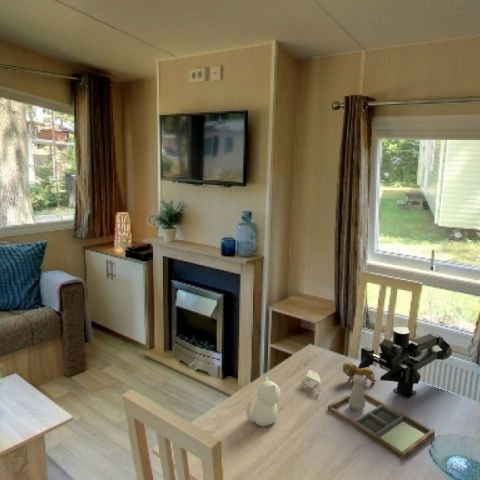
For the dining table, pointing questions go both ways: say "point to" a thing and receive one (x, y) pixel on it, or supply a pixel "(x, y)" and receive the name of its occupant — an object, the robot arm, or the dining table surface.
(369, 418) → the trap pits
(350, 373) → the lion figurine
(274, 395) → the cat figurine
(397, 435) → the pad
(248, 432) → the dining table surface
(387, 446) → the wooden frame
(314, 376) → the origami figure
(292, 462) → the dining table surface
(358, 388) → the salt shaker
